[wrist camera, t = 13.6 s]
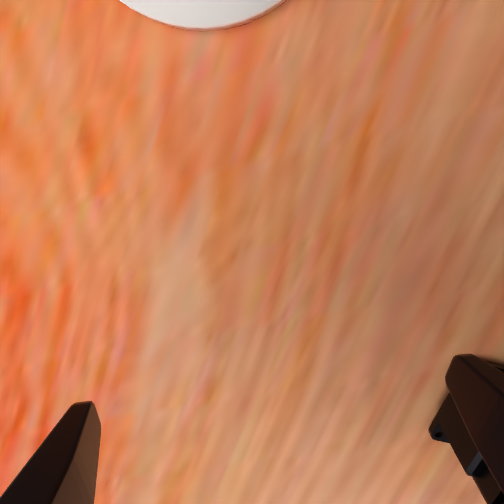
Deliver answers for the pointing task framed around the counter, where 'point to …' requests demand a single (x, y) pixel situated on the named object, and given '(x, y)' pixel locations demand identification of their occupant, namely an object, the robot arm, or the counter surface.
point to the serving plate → (203, 12)
